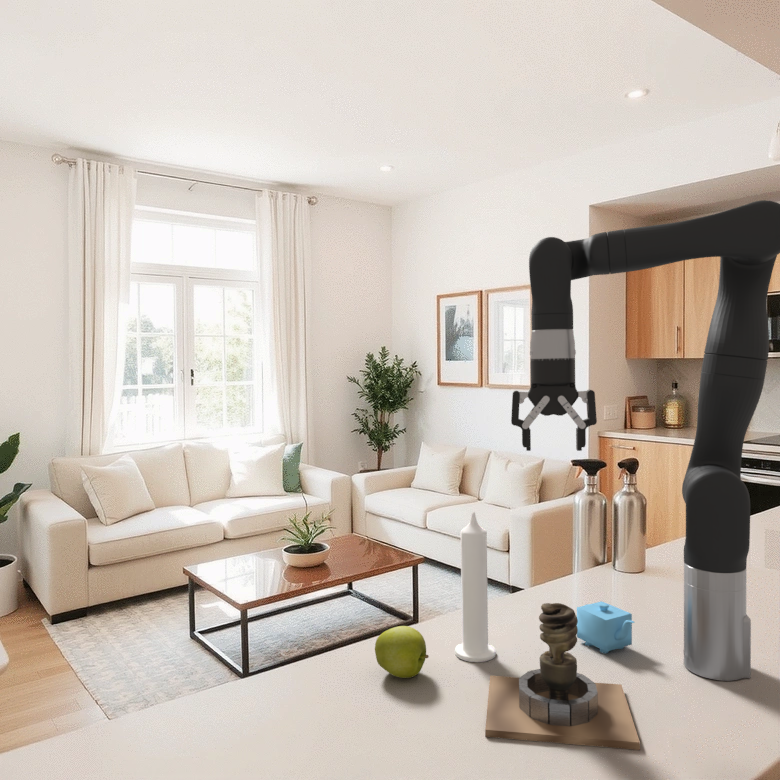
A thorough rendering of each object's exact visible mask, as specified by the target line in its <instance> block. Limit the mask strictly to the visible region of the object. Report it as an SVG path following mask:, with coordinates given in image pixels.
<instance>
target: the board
mask: <svg viewBox="0 0 780 780" xmlns="http://www.w3.org/2000/svg"><path fill="white" fill-rule="evenodd" d="M519 678H520V676H519V677H518V676H517V677H516V676H505V675H490V676H489V685H488V695H487V706H486V707H487V709H486V715H485V716H486V719H485V720H486V721H485V727H484V728H485V730H484V732H485V734H484V735H485V738H495V739H507V740H520V741H530V742H531V741H532V742H543V743H553V744H554V743H555V744H565V745H575V746H577V745H578V746H589V747H600V748H601V747H602V748H612V749H625V750H636V751H640V750H641V741H640V739H639V736H638V732H637V729H636V727H635V723H634V721H633V720H634V719H633V717H632V714H631V710H630V707H629V704H628V701H627V697H626V695H625V692H624V687H623V685H622V684H619V683H617V684H616V683H606V682H594V683H595V684H596V688H597V692H598V713H597V715H596V716H595V717H594V718H593V719H592V720H591V721H590V722H588V723H584V724H580V725H576V726H570V727H569V726H557V725H550V723H549V724H545V723H543V722H540V721H537V720H534V719H532V718H531V717H528V716H527V715H526V714H525V713H524V712H523V711H522V710H521V709H520V707H519ZM536 694H537V695H540V696H542V697H545V698H548V699H549V691H545V692H541V693H536ZM568 698H569V699H568V700H573V699H577V698H579V697H577V696H574V695H571V694H568Z"/></svg>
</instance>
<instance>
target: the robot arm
mask: <svg viewBox="0 0 780 780" xmlns="http://www.w3.org/2000/svg"><path fill="white" fill-rule="evenodd" d="M779 254H780V203H779V202H776V201H773V200H756V201H752V202H749V203H747V204H744V205H741V206H738V207H734V208H730V209H727V210H724V211H720V212H717V213H714V214H710V215H705V216H701V217H696V218H691V219H687V220H681V221H677V222H670V223H662V224H655V225H647V226H641V227H640V226H639V227H632V228H631V227H630V228H623V229H617V230H610V231H609V230H608V231H604V232H598V233H595V234H592V235H591V236H589V237H588V238H583V239H582V238H581V239H575V240H569V241H564V240H563V239H561V238H559V237H555V236H548V237H543V238H541V239H540V240H538V241H537V242H536V243H535V244H534V245H533V247H532V249H531V251H530V253H529V259H528V272H529V284H530V293H531V317H530V318H531V334H530V344H529V345H530V346H529V356H530V357H529V358H530V359H529V361H530V387H529V390H528V391H519V390H514V391H513V392H512V396H511V397H512V402H511V416H510V417H511V418H510V420H511V423H510V424H511V425H513V426H515V427H519V428H520V429H521V437H522V438H521V442H522V443H521V444H522V447H523V448H526V451H528V452H530V451H531V450H532V449H531V448H532V447H531V443H532V442H531V435H532V434H531V428H530V426H531V425H532V423H533V422H534V421H535V420H536V419H537V418H538V416H539V415H540V414H541V415H542V416H545V417H546V416H552V415H555V416H559V417H560V416H564V415H566V414H568V416H569V417H570V418H571V420H572V421H573V422H574V423H575V424H576V426H577V427H576V428H575V439H576V441H575V442H576V445H575V447H576V448H575V449H576V451H580V452H582V451H583V449H582V448H585V447H586V443H587V442H586V437H587V435H586V430H587V429H588V427H591V426H595V425H596V424H597V422H598V420H597V419H598V418H597V408H596V406H597V405H596V393H595V390H593V389H587V390H580V391H578V390H577V388H576V354H577V351H576V342H575V341H576V340H575V336H574V305H573V300H572V296H571V294H572V292H571V291H572V288H571V287H572V281H575V280H578V279H583V278H584V279H585V278H588V277H592V276H604V275H605V276H607V275H613V274H622V273H630V272H636V271H642V270H646V269H652V268H656V267H660V266H661V267H662V266H665V265H666V266H667V265H669V264H673V263H679V262H682V261H683V262H684V261H689V260H694V259H703V258H714V257H716V258H717V257H720V259H719V261H720V262H719V277H718V278H719V280H718V288H717V289H718V290H717V295H716V296H717V297H716V300H715V305H714V308H713V312H712V315H711V320H710V324H709V329H708V333H707V338H706V342H705V347H704V353H703V358H702V365H701V372H700V382H699V391H698V403H697V418H696V419H697V420H696V421H697V422H696V423H697V424H696V433H695V437H694V440H693V441H694V442H693V446H692V449H691V453H690V458H689V462H688V465H687V468H686V471H685V474H684V479H683V482H682V484H681V485H682V489H681V494H682V497H683V501H684V503H685V539H684V540H685V541H684V546H683V664H684V666H685V668H686V669H687V670H689V671H690V672H691V673H693V674H696V675H697V676H700V677H703V678H707V679H711V680H715V681H716V680H717V681H726V682H727V681H729V682H731V681H736V680H741V679H750V678H751V675H752V674H751V673H752V672H751V671H752V670H751V669H752V668H751V667H752V665H751V664H752V663H751V661H752V660H751V659H752V658H751V657H752V652H751V651H752V648H751V645H752V641H751V640H752V639H751V638H752V622H751V618H750V617H749V615H748V614H747V561H748V560H747V559H748V554H749V553H750V552H749V551H750V539H751V536H750V534H751V498H750V493H749V490H748V488H747V486H746V484H745V483H744V481H743V480H742V477H741V475H742V473H741V472H742V471H741V470H742V458H743V456H742V455H743V448H744V442H745V438H746V434H747V431H748V429H749V426H750V423H751V421H752V419H753V416H754V414H755V412H756V409H757V407H758V405H759V401H760V399H761V395H762V392H763V390H764V389H763V388H764V384H765V379H766V373H767V368H768V361H769V360H768V359H769V354H770V353H769V351H770V331H769V330H770V329H769V317H768V292H769V287H770V283H771V278H772V274H773V271H774V266H775V263H776V260H777V258H778V255H779ZM579 398H581V401H582V403H584V404H586V414H587V415H586V416H587V418H584V419H582V417H581V416H580V415H579V414H578V412H577V411H576V410H575V409H574V407H573V405H574V404H575V403H576V402H577V400H578V399H579ZM526 399H528V400H529V401H530V402H531V404H532V405H533V407H532V409H531V410H529V411H530V412H528V414H527V415H526V416H525V418H524V419H520V404H521V405H522V404H523V403H525V400H526Z"/></svg>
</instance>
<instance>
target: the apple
mask: <svg viewBox="0 0 780 780" xmlns="http://www.w3.org/2000/svg"><path fill="white" fill-rule="evenodd" d="M374 645H375V646H374V652H375V658H376V662H377V663H378V664H377V665H379V666H380V667H381V668H382V669H384V670H385V671H386V672H387V673H389V674H390V675H392V676H393V677H396V678H398V679H399V678H400V679H410V678H414V677H415V676H417V675H418V674H419V673H420V672H421V670H422V669H423V666H424V664H425V661H426V659H428V658H429V657H430V656H429V655H428V654H427V644H426V641H425V638H424V636H423V634H422V633H420V631H419V630H417V629H415V628H414V627H412V626H408V625H399V626H394V627H391V628H389V629H387V630H385V631H383V632H382V633H380V635H379V636H378V637H377V638H376V640H375V644H374Z"/></svg>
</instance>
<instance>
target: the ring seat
mask: <svg viewBox="0 0 780 780" xmlns="http://www.w3.org/2000/svg"><path fill="white" fill-rule="evenodd" d="M595 683H596V682H594V681H593V680H592V679H591V678H589V677H587V676H586V675H584V674H583V673H580V672H577V676H576V680H575V682H574V683H573V684H572V685H571V687H570V688H569V694H571V695H574V696H577V697H579V698H577V699H573V700H568V701H567V700H553V699H548V698H545V697H542V696H540V695H537V694H536V693H541V692H545V691H549V689H548V685H547V684H546V683H545V681H544V680H543V678H542V676H541V672H540V668H538V669H533V670H529V671H527V672H525V673H523V674H522V675H521V676H519V707H520V709H521V710H522V711H523V712H524V713H525V714H526V715H527V716H528V717H531V718H532V719H534V720H537V721H540V722H543V723H545V724H549V723H550V725H557V726H569V727H570V726H576V725H580V724H584V723H588V722H590V721H591V720H592V719H593V718H594V717H595V716H596V715H597V713H598V692H597V688H596V684H595Z"/></svg>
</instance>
